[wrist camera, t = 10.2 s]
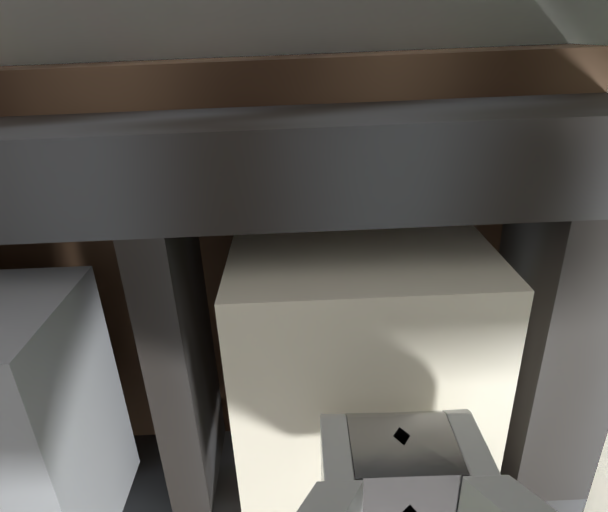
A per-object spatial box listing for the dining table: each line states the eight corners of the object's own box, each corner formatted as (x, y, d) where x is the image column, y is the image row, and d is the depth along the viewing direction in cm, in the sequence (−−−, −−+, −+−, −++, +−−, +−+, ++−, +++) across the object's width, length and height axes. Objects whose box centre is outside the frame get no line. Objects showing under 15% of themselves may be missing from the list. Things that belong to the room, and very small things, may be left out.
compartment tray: (570, 43, 13) (722, 51, 8) (499, 439, 19) (565, 570, 14) (-579, 89, 13) (-1067, 122, 8) (-284, 474, 19) (-470, 618, 14)
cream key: (471, 223, 12) (534, 291, 9) (449, 407, 15) (493, 510, 12) (234, 233, 12) (214, 304, 9) (253, 415, 15) (242, 521, 12)
